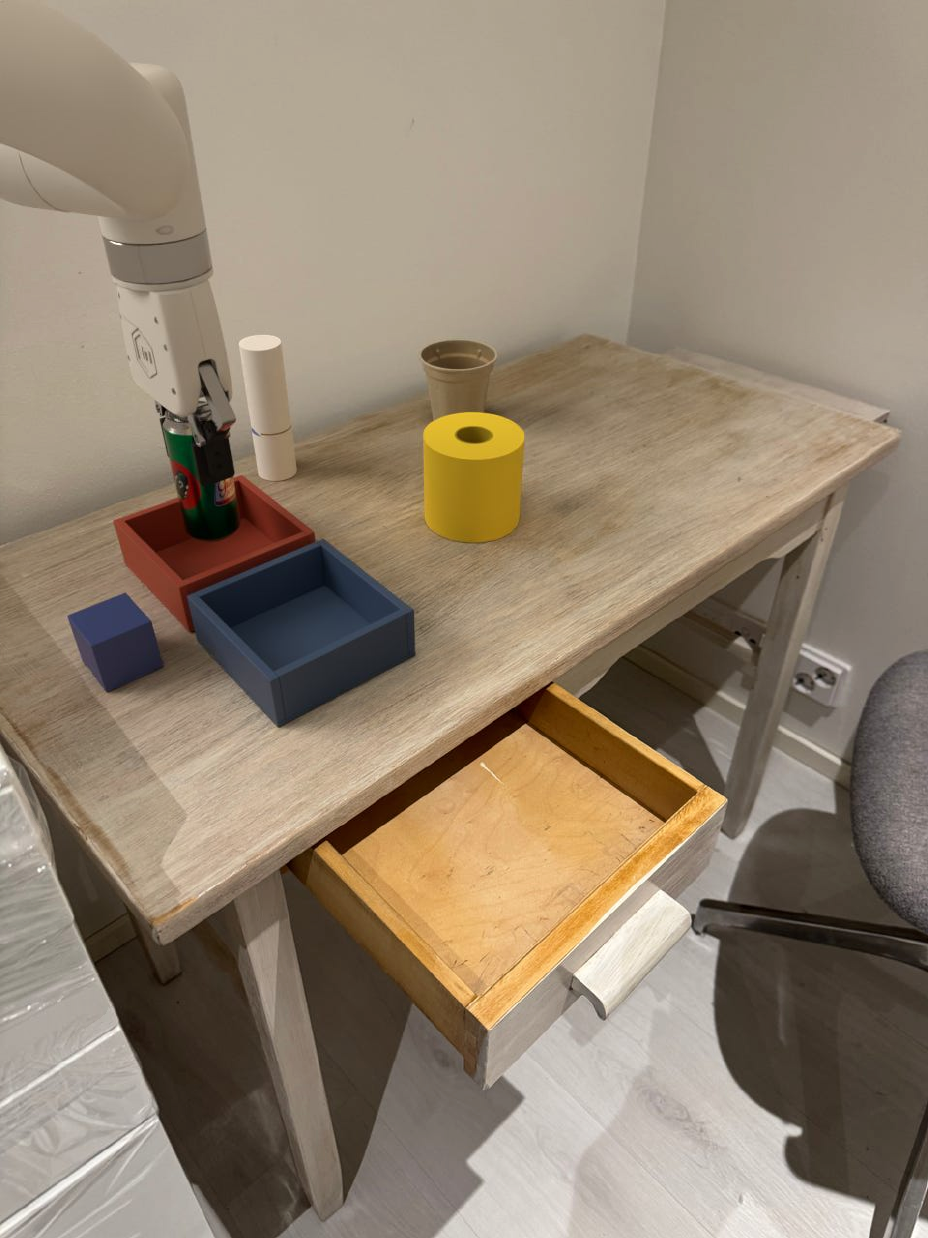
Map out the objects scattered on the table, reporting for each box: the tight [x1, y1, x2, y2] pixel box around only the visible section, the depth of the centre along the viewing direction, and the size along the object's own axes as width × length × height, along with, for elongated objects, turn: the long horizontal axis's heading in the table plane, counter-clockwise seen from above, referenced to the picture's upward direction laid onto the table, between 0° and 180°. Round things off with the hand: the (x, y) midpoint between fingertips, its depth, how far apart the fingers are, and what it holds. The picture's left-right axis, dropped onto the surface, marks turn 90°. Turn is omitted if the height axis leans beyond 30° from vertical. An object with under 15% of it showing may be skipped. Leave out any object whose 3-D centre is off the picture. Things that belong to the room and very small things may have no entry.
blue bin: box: [187, 538, 416, 728], centre depth 76 cm, size 14×14×5 cm
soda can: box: [163, 400, 241, 542], centre depth 80 cm, size 5×5×12 cm
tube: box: [238, 334, 298, 482], centre depth 96 cm, size 4×4×15 cm
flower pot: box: [418, 338, 499, 421], centre depth 109 cm, size 9×9×9 cm
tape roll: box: [422, 412, 525, 544], centre depth 91 cm, size 10×10×9 cm
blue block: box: [67, 592, 164, 693], centre depth 74 cm, size 5×5×5 cm
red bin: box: [112, 474, 317, 633], centre depth 85 cm, size 14×14×5 cm
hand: (201, 465), depth 79 cm, fingers closed on soda can, 5 cm apart
